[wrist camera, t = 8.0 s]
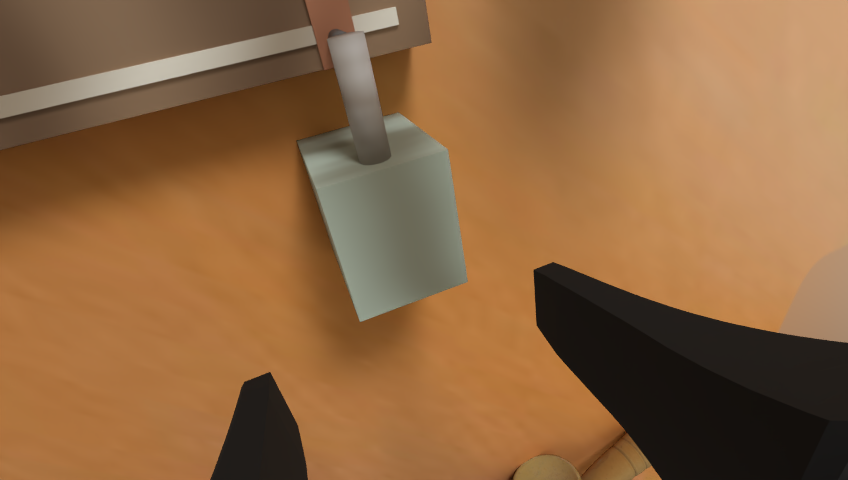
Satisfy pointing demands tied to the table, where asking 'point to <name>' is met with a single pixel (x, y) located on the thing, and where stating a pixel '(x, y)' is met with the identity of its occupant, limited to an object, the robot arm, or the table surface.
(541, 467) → the kendama
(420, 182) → the grey block with peg
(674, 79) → the table surface
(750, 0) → the table surface
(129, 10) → the walnut plank
